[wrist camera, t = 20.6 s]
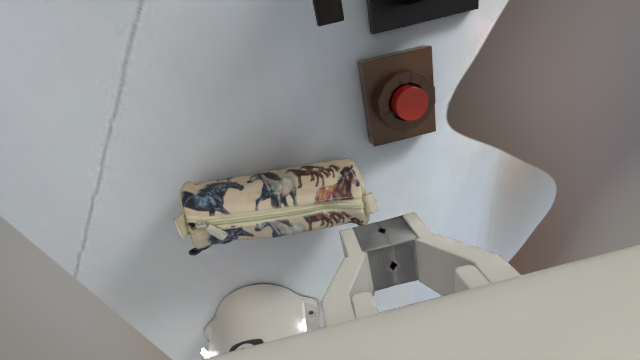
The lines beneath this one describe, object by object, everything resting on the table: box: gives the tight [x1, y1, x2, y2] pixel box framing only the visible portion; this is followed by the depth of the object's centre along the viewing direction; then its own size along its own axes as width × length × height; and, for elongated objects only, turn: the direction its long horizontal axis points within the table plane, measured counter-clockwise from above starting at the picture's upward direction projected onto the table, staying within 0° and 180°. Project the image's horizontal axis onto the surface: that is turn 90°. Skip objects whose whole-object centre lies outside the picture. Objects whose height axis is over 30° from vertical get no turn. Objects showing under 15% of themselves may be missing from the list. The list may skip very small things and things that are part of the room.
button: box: [391, 85, 428, 121], centre depth 34 cm, size 4×4×2 cm
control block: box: [357, 46, 436, 147], centre depth 36 cm, size 10×8×4 cm
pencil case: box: [174, 159, 378, 255], centre depth 36 cm, size 22×8×10 cm, turn 96°
